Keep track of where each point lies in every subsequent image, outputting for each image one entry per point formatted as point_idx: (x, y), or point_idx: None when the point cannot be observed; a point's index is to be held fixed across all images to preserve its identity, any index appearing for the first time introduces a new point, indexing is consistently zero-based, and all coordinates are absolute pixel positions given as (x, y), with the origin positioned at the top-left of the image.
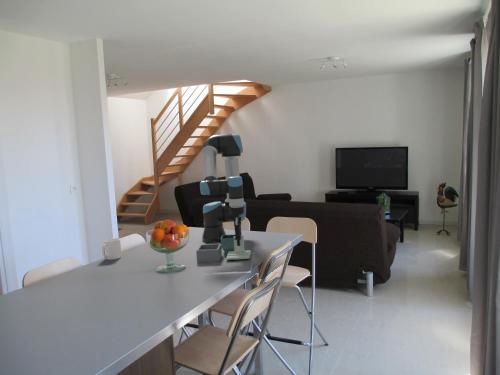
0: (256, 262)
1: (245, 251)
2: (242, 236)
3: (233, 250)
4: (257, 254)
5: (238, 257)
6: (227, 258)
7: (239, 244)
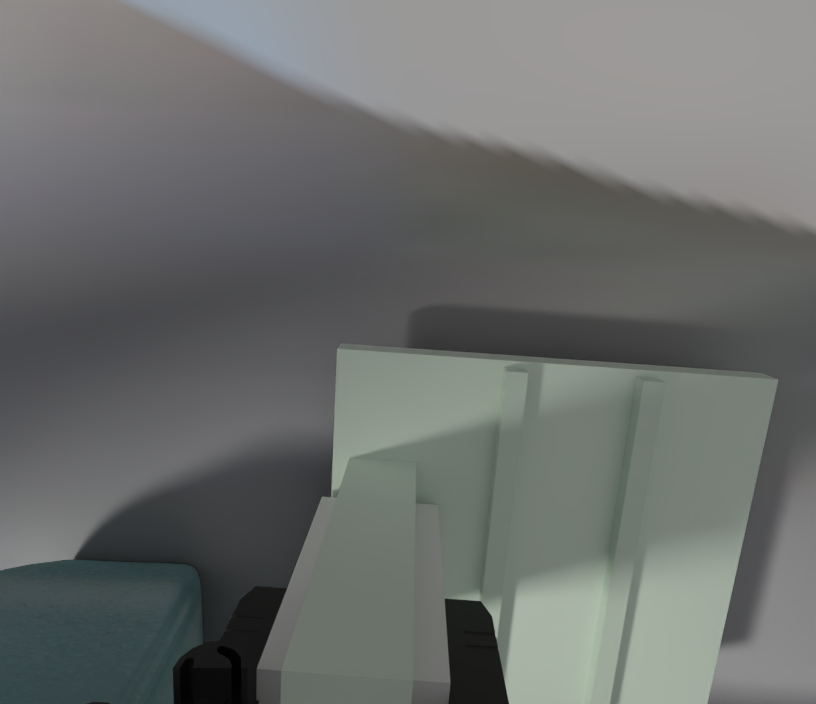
0: (773, 259)
1: (400, 440)
2: (379, 701)
3: (201, 609)
4: (321, 228)
5: (740, 550)
6: (701, 694)
7: (492, 633)
